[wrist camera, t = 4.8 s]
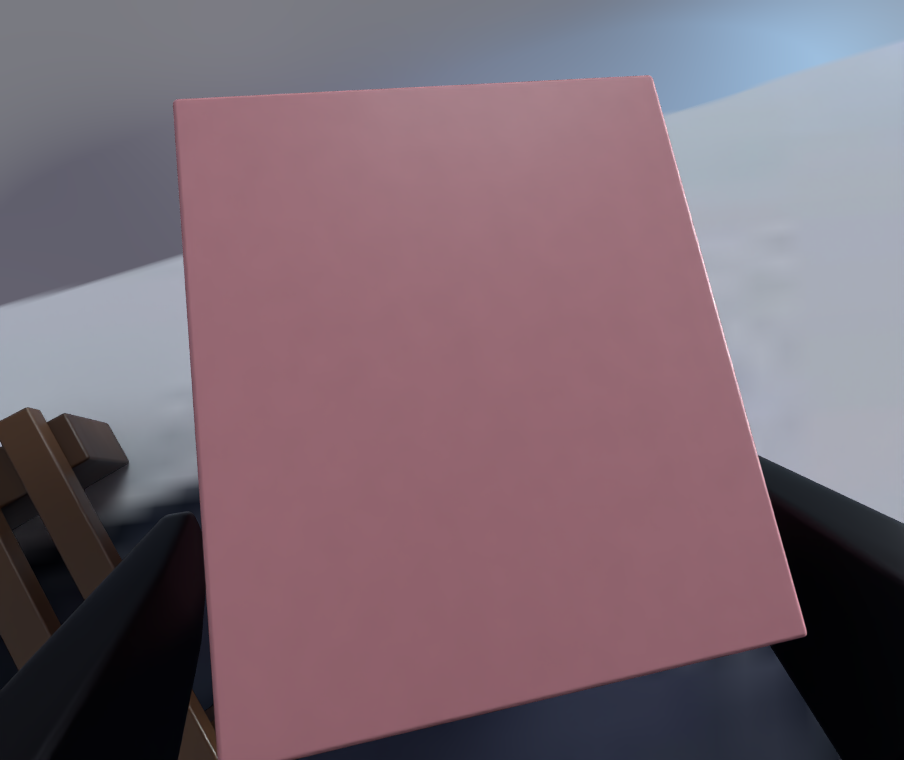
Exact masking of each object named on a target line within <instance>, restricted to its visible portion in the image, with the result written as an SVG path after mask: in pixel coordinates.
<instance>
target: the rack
mask: <svg viewBox="0 0 904 760" xmlns="http://www.w3.org/2000/svg"><path fill="white" fill-rule="evenodd" d="M0 442H1V444H2V447H0V635H1V637H2V639H3V641H4V643H5V645H6V647H7V649H8V651H9V653H10V655H11V657H12V659H13V661H14V663H15V665H16V667H17V669H18V671H19V670H20V669H21V668H22V667H23V666H24V665H25V664H26V662H27V661H28V660H29V659H30V658H31V657H32V656H33V655H34V654H35V653H36V652H37V651H38V650H39V649H40V648H41V647H42V645H43V644H44V643H45V642H46V641H47V640H48V639H49V638H50V637H51V636H52V635H53V634H54V633H55V632H56V631H57V629H58V628H59V627H60V626H61V624H60V622H59V620H58V618H57V616H56V614H55V613H54V611H53V609H52V607H51V605H50V603H49V601H48V599H47V597H46V595H45V593H44V591H43V590H42V588H41V586H40V584H39V582H38V580H37V578H36V576H35V574H34V572H33V570H32V568H31V567H30V565H29V563H28V561H27V559H26V557H25V555H24V553H23V551H22V549H21V547H20V545H19V543H18V542H17V540H16V538H15V536H14V534H13V532H12V530H13V529H15V528H16V527H18V526H20V525H22V524H23V523H25V522H27V521H29V520H30V519H32V518H34V517H36V516H37V515H39V516H40V518H41V519H42V521H43V523H44V525H45V527H46V529H47V531H48V533H49V535H50V536H51V538H52V540H53V542H54V544H55V546H56V548H57V550H58V552H59V553H60V555H61V557H62V559H63V561H64V563H65V565H66V567H67V569H68V570H69V572H70V574H71V576H72V578H73V580H74V582H75V584H76V585H77V587H78V589H79V591H80V593H81V595H82V597H83V599H84V601H85V600H86V599H87V597H88V596H89V595H90V594H91V593H92V592H93V591H94V590H95V589H96V588H97V587H98V586H99V585H100V584H101V583H102V581H103V580H104V579H105V578H106V577H107V576H108V575H109V574H110V573H111V572H112V571H113V570H114V569H115V568H116V567H117V565H118V564H119V563H120V562H121V561H122V560H121V558H120V556H119V554H118V552H117V551H116V549H115V547H114V545H113V543H112V541H111V540H110V538H109V536H108V534H107V532H106V530H105V529H104V527H103V525H102V523H101V521H100V519H99V518H98V516H97V514H96V512H95V510H94V508H93V507H92V505H91V503H90V501H89V499H88V497H87V496H86V494H85V492H84V490H83V489H84V488H86V487H88V486H90V485H91V484H93V483H95V482H97V481H98V480H100V479H102V478H104V477H105V476H107V475H109V474H111V473H112V472H114V471H116V470H118V469H119V468H121V467H123V466H125V465H126V464H128V463H129V460H128V459H127V457H126V455H125V453H124V451H123V450H122V448H121V446H120V444H119V443H118V441H117V439H116V437H115V435H114V434H113V432H112V430H111V428H110V427H109V425H108V424H107V423H104V422H100V421H96V420H92V419H88V418H83V417H79V416H75V415H71V414H67V413H64V414H61V415H60V416H58V417H56V418H54V419H52V420H50V421H48V422H46V420H45V419H44V417H43V415H42V413H41V411H40V410H37V409H33V408H28V407H27V408H24V409H22V410H20V411H18V412H16V413H14V414H13V415H11V416H9V417H7V418H5V419H3V420H1V421H0ZM178 760H218V759H217V745H216V730H215V715H214V705H213V706H211V707H210V708H208V709H207V710H206V711H204V710H203V708H202V706H201V705H200V703H199V701H198V699H197V697H196V695H195V694H194V692H193V690H192V692H191V697H190V702H189V707H188V712H187V717H186V722H185V727H184V732H183V737H182V742H181V747H180V752H179V757H178Z"/></svg>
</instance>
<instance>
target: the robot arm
mask: <svg viewBox="0 0 904 760" xmlns="http://www.w3.org/2000/svg"><path fill="white" fill-rule="evenodd" d="M758 458H759V461H760V465H761V469H762V472H763V476H764V479H765V483H766V487H767V490H768V494H769V497H770V501H771V505H772V508H773V512H774V515H775V519H776V522H777V526H778V530H779V533H780V537H781V540H782V544H783V548H784V551H785V555H786V558H787V562H788V566H789V569H790V573H791V576H792V580H793V583H794V587H795V591H796V594H797V598H798V601H799V605H800V609H801V612H802V616H803V619H804V623H805V627H806V630H807V635H806V636H805V637H802V638H798V639H794V640H790V641H786V642H781V643H777V644H773V645H770V646H771V648H772V650H773V651H774V653H775V654H776V656H777V657H778V659H779V661H780V662H781V664H782V665H783V667H784V669H785V670H786V672H787V673H788V675H789V677H790V678H791V680H792V681H793V683H794V684H795V686H796V688H797V689H798V691H799V692H800V694H801V696H802V697H803V699H804V700H805V702H806V703H807V705H808V707H809V708H810V710H811V711H812V713H813V715H814V716H815V718H816V719H817V721H818V722H819V724H820V726H821V727H822V729H823V730H824V732H825V734H826V735H827V737H828V738H829V740H830V742H831V743H832V745H833V746H834V748H835V749H836V751H837V753H838V754H839V756H840V757H841V759H842V760H904V524H903V523H901V522H899V521H897V520H895V519H893V518H891V517H888V516H886V515H884V514H882V513H880V512H878V511H876V510H874V509H871V508H869V507H867V506H865V505H863V504H861V503H859V502H857V501H854V500H852V499H850V498H848V497H846V496H844V495H842V494H840V493H837V492H835V491H833V490H831V489H829V488H827V487H825V486H823V485H820V484H818V483H816V482H814V481H812V480H810V479H808V478H806V477H803V476H801V475H799V474H797V473H795V472H793V471H791V470H788V469H786V468H784V467H782V466H780V465H778V464H776V463H774V462H771V461H769V460H767V459H765V458H763V457H761V456H759V455H758ZM205 591H206V583H205V569H204V554H203V539H202V531H201V529H200V527H199V524H198V522H197V520H196V518H195V516H194V515H193V514H192V513H191V512H181V513H175V514H169V515H166V516H164V517H163V518H162V519H161V520H160V521H159V522H158V523H157V524H156V525H155V526H154V527H153V528H152V529H151V530H150V531H149V532H148V533H147V535H146V536H145V537H144V538H143V539H142V540H141V541H140V542H139V543H138V544H137V545H136V546H135V547H134V548H133V549H132V551H131V552H130V553H129V554H128V555H127V556H126V557H125V558H124V559H123V560H122V561H121V562H120V563H119V564H118V565H117V567H116V568H115V569H114V570H113V571H112V572H111V573H110V574H109V575H108V576H107V577H106V578H105V579H104V580H103V581H102V583H101V584H100V585H99V586H98V587H97V588H96V589H95V590H94V591H93V592H92V593H91V594H90V595H89V596H88V597H87V599H86V600H85V601H84V602H83V603H82V604H81V605H80V606H79V607H78V608H77V609H76V610H75V611H74V612H73V613H72V615H71V616H70V617H69V618H68V619H67V620H66V621H65V622H64V623H63V624H62V625H61V626H60V627H59V628H58V629H57V631H56V632H55V633H54V634H53V635H52V636H51V637H50V638H49V639H48V640H47V641H46V642H45V643H44V644H43V645H42V647H41V648H40V649H39V650H38V651H37V652H36V653H35V654H34V655H33V656H32V657H31V658H30V659H29V660H28V661H27V662H26V664H25V665H24V666H23V667H22V668H21V669H20V670H19V671H18V672H17V673H16V674H15V675H14V676H13V677H12V678H11V680H10V681H9V682H8V683H7V684H6V685H5V686H4V687H3V688H2V689H1V690H0V760H178V757H179V752H180V747H181V742H182V737H183V732H184V727H185V722H186V717H187V712H188V707H189V702H190V697H191V692H192V687H193V682H194V677H195V672H196V667H197V662H198V657H199V651H200V645H201V637H202V628H203V615H204V603H205Z"/></svg>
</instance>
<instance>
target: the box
mask: <svg viewBox="0 0 904 760" xmlns="http://www.w3.org/2000/svg"><path fill="white" fill-rule="evenodd" d="M173 113H174V128H175V143H176V157H177V171H178V186H179V201H180V216H181V229H182V230H181V231H182V245H183V260H184V275H185V290H186V304H187V319H188V334H189V348H190V363H191V378H192V392H193V407H194V422H195V436H196V451H197V466H198V480H199V495H200V510H201V525H202V539H203V554H204V569H205V583H206V598H207V613H208V627H209V642H210V657H211V671H212V686H213V701H214V715H215V730H216V745H217V759H218V760H295V759H299V758H303V757H307V756H311V755H315V754H320V753H324V752H328V751H332V750H336V749H340V748H345V747H349V746H353V745H357V744H361V743H365V742H370V741H374V740H378V739H382V738H386V737H390V736H395V735H399V734H403V733H407V732H411V731H415V730H419V729H424V728H428V727H432V726H436V725H440V724H444V723H449V722H453V721H457V720H461V719H465V718H469V717H474V716H478V715H482V714H486V713H490V712H494V711H499V710H503V709H507V708H511V707H515V706H519V705H523V704H528V703H532V702H536V701H540V700H544V699H548V698H553V697H557V696H561V695H565V694H569V693H573V692H578V691H582V690H586V689H590V688H594V687H598V686H603V685H607V684H611V683H615V682H619V681H623V680H627V679H632V678H636V677H640V676H644V675H648V674H652V673H657V672H661V671H665V670H669V669H673V668H677V667H682V666H686V665H690V664H694V663H698V662H702V661H707V660H711V659H715V658H719V657H723V656H727V655H731V654H736V653H740V652H744V651H748V650H752V649H756V648H761V647H765V646H769V645H773V644H777V643H781V642H786V641H790V640H794V639H798V638H802V637H805V636H806V635H807V630H806V627H805V623H804V619H803V616H802V612H801V609H800V605H799V601H798V598H797V594H796V591H795V587H794V583H793V580H792V576H791V573H790V569H789V566H788V562H787V558H786V555H785V551H784V548H783V544H782V540H781V537H780V533H779V530H778V526H777V522H776V519H775V515H774V512H773V508H772V505H771V501H770V497H769V494H768V490H767V487H766V483H765V479H764V476H763V472H762V469H761V465H760V461H759V458H758V454H757V451H756V447H755V443H754V440H753V436H752V433H751V429H750V426H749V422H748V418H747V415H746V411H745V408H744V404H743V400H742V397H741V393H740V390H739V386H738V382H737V379H736V375H735V372H734V368H733V365H732V361H731V357H730V354H729V350H728V347H727V343H726V339H725V336H724V332H723V329H722V325H721V321H720V318H719V314H718V311H717V307H716V303H715V300H714V296H713V293H712V289H711V286H710V282H709V278H708V275H707V271H706V268H705V264H704V260H703V257H702V253H701V250H700V246H699V242H698V239H697V235H696V232H695V228H694V224H693V221H692V217H691V214H690V210H689V207H688V203H687V199H686V196H685V192H684V189H683V185H682V181H681V178H680V174H679V171H678V167H677V163H676V160H675V156H674V153H673V149H672V146H671V142H670V138H669V135H668V131H667V128H666V124H665V120H664V117H663V113H662V110H661V106H660V103H659V99H658V95H657V92H656V88H655V84H654V81H653V78H652V77H651V76H648V75H646V76H627V77H607V78H587V79H567V80H548V81H528V82H509V83H490V84H469V85H451V86H431V87H410V88H391V89H372V90H352V91H332V92H312V93H293V94H273V95H254V96H233V97H214V98H195V99H177V100H175V101H174V102H173Z"/></svg>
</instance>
